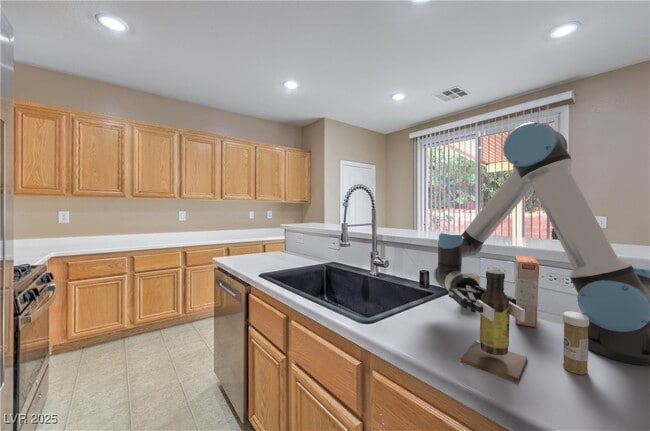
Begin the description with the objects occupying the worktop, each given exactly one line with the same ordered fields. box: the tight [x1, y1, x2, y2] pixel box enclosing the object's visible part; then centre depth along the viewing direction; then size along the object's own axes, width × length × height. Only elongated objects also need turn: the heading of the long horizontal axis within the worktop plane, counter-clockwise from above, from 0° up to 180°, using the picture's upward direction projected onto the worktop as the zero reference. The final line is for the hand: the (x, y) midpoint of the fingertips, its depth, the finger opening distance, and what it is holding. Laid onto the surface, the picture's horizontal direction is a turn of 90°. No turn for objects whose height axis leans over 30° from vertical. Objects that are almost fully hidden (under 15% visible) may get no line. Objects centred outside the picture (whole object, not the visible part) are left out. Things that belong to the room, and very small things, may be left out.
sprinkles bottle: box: [562, 310, 589, 375], centre depth 67 cm, size 5×5×13 cm
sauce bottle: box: [479, 269, 511, 355], centre depth 71 cm, size 6×6×20 cm
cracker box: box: [513, 255, 540, 328], centre depth 97 cm, size 14×6×21 cm, turn 148°
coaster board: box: [460, 341, 528, 383], centre depth 71 cm, size 12×12×1 cm
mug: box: [463, 271, 481, 302], centre depth 112 cm, size 10×7×12 cm, turn 129°
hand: (507, 315), depth 66 cm, fingers closed on sauce bottle, 6 cm apart
